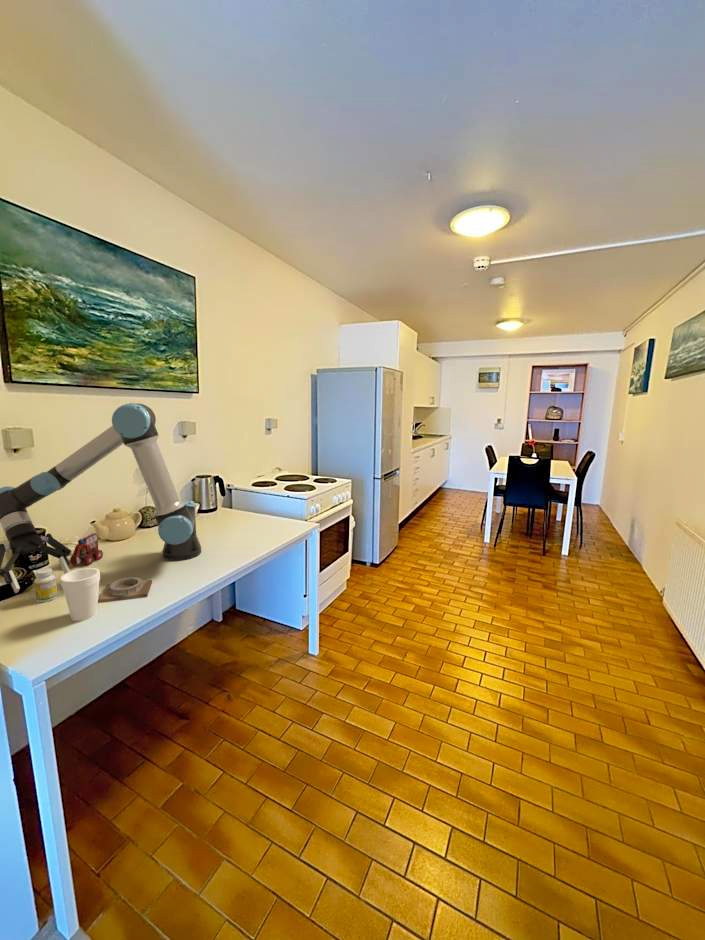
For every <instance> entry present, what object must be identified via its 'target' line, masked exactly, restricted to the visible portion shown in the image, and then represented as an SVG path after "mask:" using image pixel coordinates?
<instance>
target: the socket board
mask: <svg viewBox="0 0 705 940" xmlns="http://www.w3.org/2000/svg"><path fill="white" fill-rule="evenodd" d="M152 584H153V579H145V580H142V578H140V577H135V576H133V577H125V578H121V579H118V580H115V581H114V582H112V583H108V584H106V586H105V587H104V589H103V590H102V592H101V594H100V596H98V603H105V602H107V603H108V602H113V601H114V602H115V601H121V600H122V601H123V600H129V599H138V598H145V597H146V598H147V597H148V595H149V592H150V590H151V587H152Z"/></svg>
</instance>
